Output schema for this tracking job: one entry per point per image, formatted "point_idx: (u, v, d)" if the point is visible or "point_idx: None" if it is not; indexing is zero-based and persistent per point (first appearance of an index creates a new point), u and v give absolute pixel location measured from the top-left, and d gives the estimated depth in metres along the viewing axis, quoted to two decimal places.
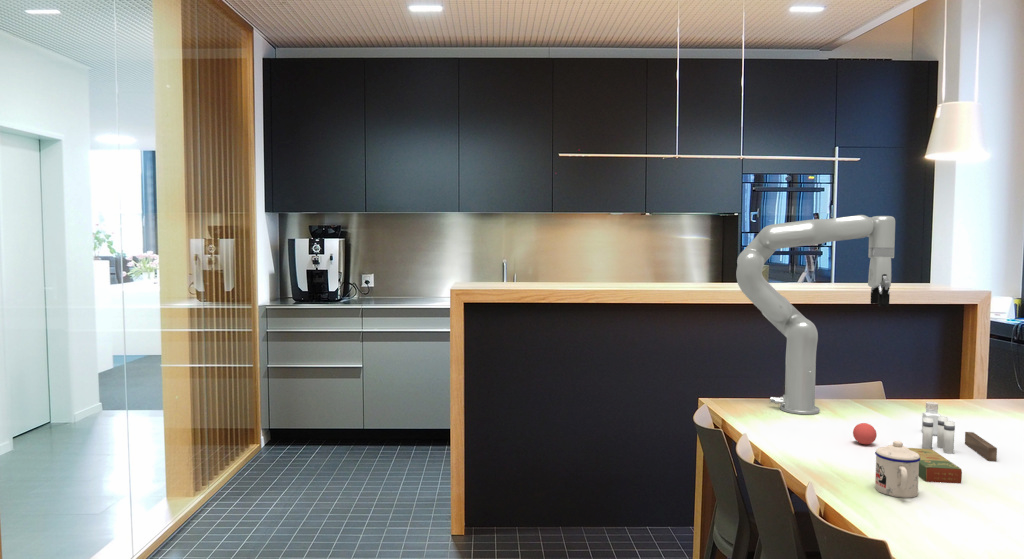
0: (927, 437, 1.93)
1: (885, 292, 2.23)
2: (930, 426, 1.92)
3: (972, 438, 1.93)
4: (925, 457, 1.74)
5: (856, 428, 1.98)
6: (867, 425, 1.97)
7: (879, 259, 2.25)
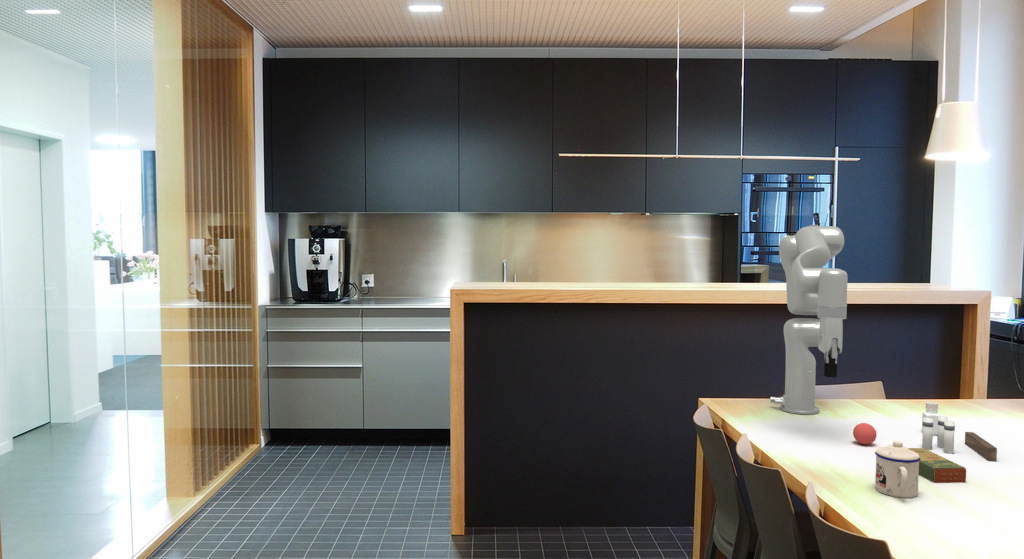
0: (927, 437, 1.93)
1: (832, 361, 1.97)
2: (930, 426, 1.92)
3: (972, 438, 1.93)
4: (926, 457, 1.73)
5: (856, 428, 1.98)
6: (867, 425, 1.97)
7: (829, 321, 1.95)
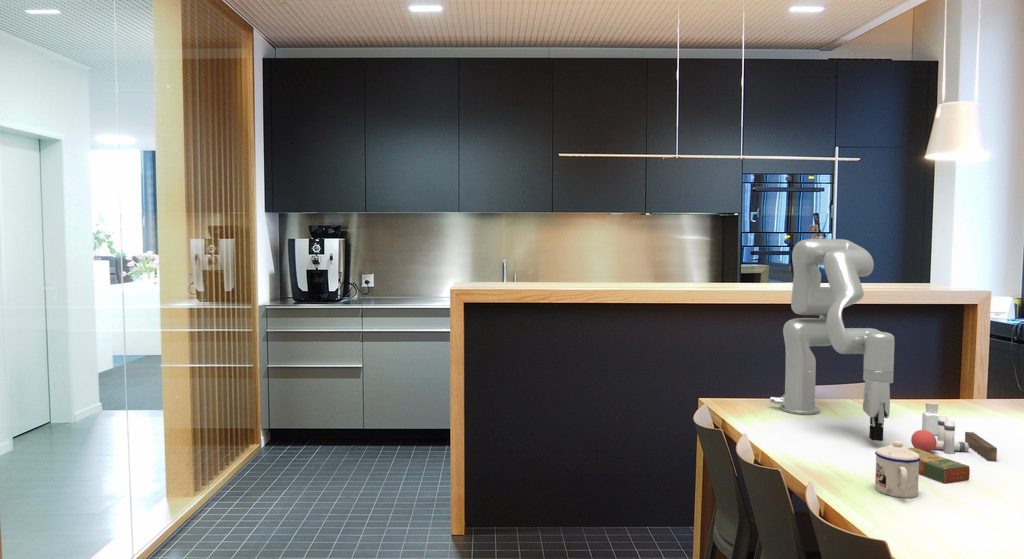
0: None
1: (878, 425, 1.95)
2: (960, 449, 1.91)
3: (972, 438, 1.93)
4: (927, 458, 1.73)
5: None
6: (911, 442, 1.92)
7: (876, 385, 1.92)
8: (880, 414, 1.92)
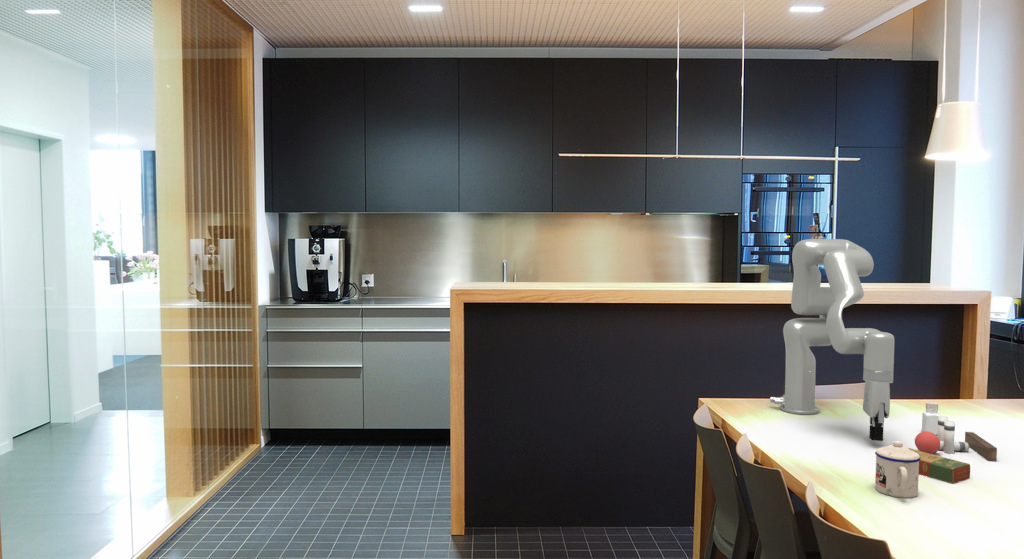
0: None
1: (878, 425, 1.95)
2: (960, 449, 1.91)
3: (972, 438, 1.93)
4: (928, 458, 1.73)
5: None
6: (915, 441, 1.90)
7: (876, 385, 1.92)
8: (880, 414, 1.92)
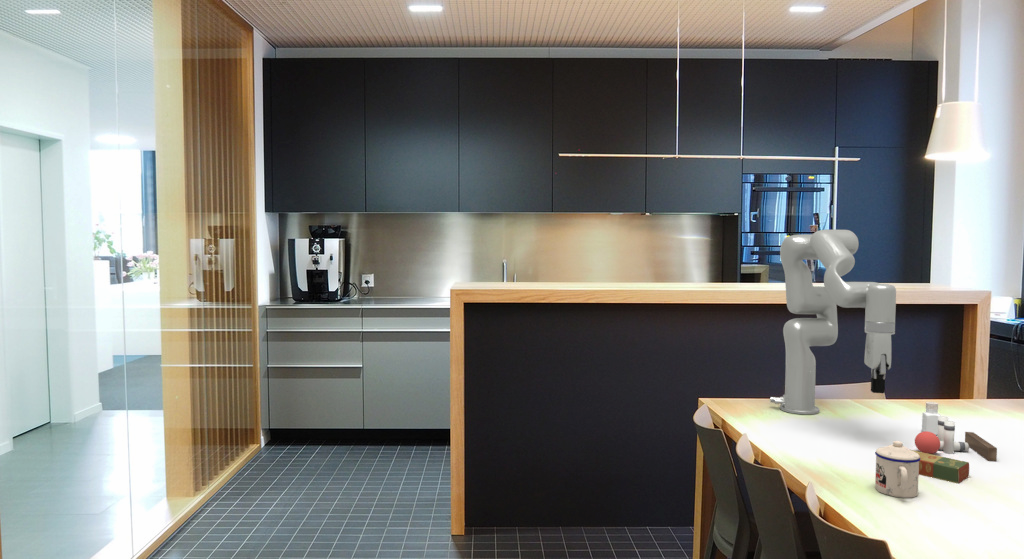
0: None
1: (880, 377, 1.94)
2: (960, 449, 1.91)
3: (972, 438, 1.93)
4: (929, 458, 1.73)
5: None
6: (915, 441, 1.90)
7: (877, 336, 1.92)
8: (882, 365, 1.91)
